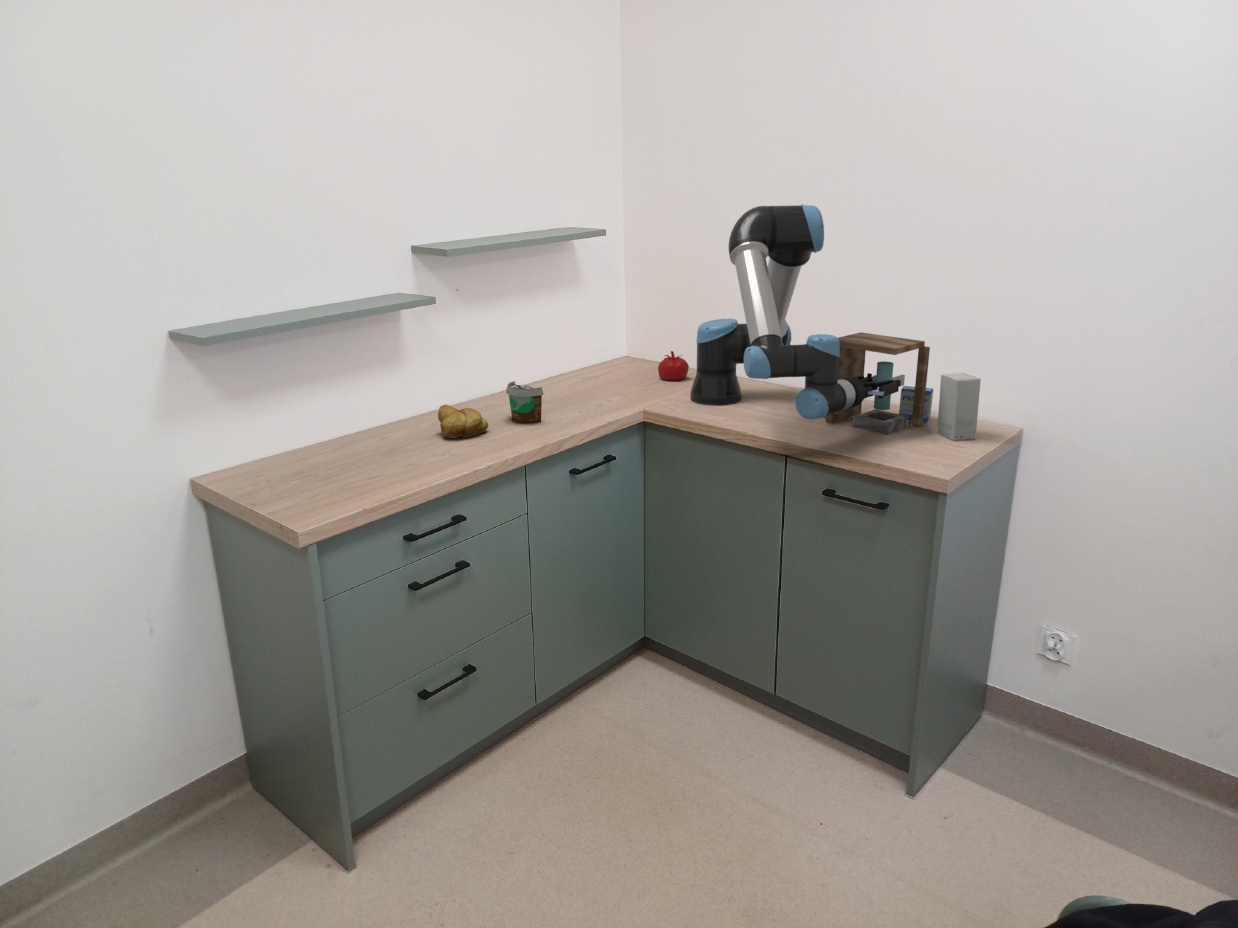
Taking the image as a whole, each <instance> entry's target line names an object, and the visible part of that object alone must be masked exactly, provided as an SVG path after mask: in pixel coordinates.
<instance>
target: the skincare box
mask: <svg viewBox="0 0 1238 928" xmlns="http://www.w3.org/2000/svg"><path fill="white" fill-rule="evenodd" d="M981 379H982V378H980V377H976V376H973V375H971V374H968V373H965V372H955V373H944V374H940V385H939V386H940V387H939V398H938V399H939V400H938V401H939V403H938V415H937V429H936V432H937V434H938V435H941V436H943V437H945V438H947V439H949V440H951V441H953V442H955V441H956V442H957V441H967V440H968V441H971V440H975V439H976V438H977V437H976V436H977V427H978V414H979V404H980V391H981V390H980V389H981Z"/></svg>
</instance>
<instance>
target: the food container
mask: <svg viewBox="0 0 1238 928" xmlns="http://www.w3.org/2000/svg"><path fill="white" fill-rule="evenodd" d="M505 389H506V390H505V394H506V395H508V399H509V405H510V413H511V420H512V422H513V423H514V424H515V423H516V424H522V425H529V424H537V423H538V424H539V423H542V405H543V404H542V402H543V399H542V397H543V395H544V390H543V387H541V386H539V387H534V388H533V387H531V386H529V385H521V384H519V385H518V384H516V380H514V381H511V382H509V383H507V386H506V388H505Z"/></svg>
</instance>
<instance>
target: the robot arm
mask: <svg viewBox="0 0 1238 928" xmlns="http://www.w3.org/2000/svg"><path fill="white" fill-rule="evenodd" d="M728 239H729V240H728V253H729V259H730V262H731V264H732V265H733V266H735V269H736V274H737V276H736V277H737V280H738V286H739V291H740V296H741V301H742V307H743V311H744V317H745V322H746V323H739V322H738V320H737V319H736V318H717V319H713V320H708V321H704V322H703V323H701V324H700V325H699V326H698V327H697V333H696V340H695V342H696V373H695V377H694V381H693V383H692V386H691V390H690V400H691V401H692V402H694V403H697V404H702V405H711V406H724V405H726V406H727V405H731V404H736V403H739V402H741V401H742V390H741V386H740V383H739V378H738V376H737V365H738V364H739V365H740V364H743V369H744V373H745V375H746V377H748V378H750V379H758V380H759V379H760V380H761V379H762V380H769V379H775V378H776V379H779V378H803V377H805V379H804V389H802V390H800V391H799V392H798V393H797V395H796V397H795V400H794V401H795V402H794V403H795V408H796V411H797V413H798V414H799V416H801V417H802V418H803V419H805V420H815V419H822V418H826V416H827V415H829V414H832V413H836V414H837V413H838V412H839V411H842V410H845V409H848V408H852V407H855V406H858V405H859V404H861V403H863V401H864V400H865V399H867V398H871V397H875V395H877V397H878V398H879V399H882V398H884V396H887V395H890V394H891V395H892V394H895V393H898V392H899V391H900V389H899V388H900V387H903V386H905V378H906V375H905V374H900V375H897V376H892V378H890V379H889V380H888V381H882V382H877V383H876V374H875V375H873V373H870V372H869V373H866V374H867V375H866V376H865V375H864V376H863V375H861V376H857V377H846V378H843V379H838V368H839V357H840V344H839V339H838V337H837V336H836V335H832V334H827V333H820V334H818V333H817V334H811V335H808V337H807V340H806V343H805V344H791V342H792V329H791V328H790V325H789V324H788V322H787V320H786V318H787V315H788V311H789V309H790V304H791V301H792V298H793V295H794V292H795V288H796V285H797V282H798V278H799V274H800V272H801V268H802V267H803V266H805V265H806V264H807V263H808V262H809V260H810V259H811V255H812V253H814V254H817V253H819V252H821V251H822V250H823V248H824V243H825V224H824V219H823V216H822V212H821V210H820V209H819V207H817V206H815V205H808V204H807V205H806V204H804V203H803V204H799V205H758V206H754V207H752V208H750V209H748V210H746V212H744V213H743V214H742V215H741V216H740V217H739V218H738V219H737V221H736V222H735V224H734V226H733V228H732V230H731V232H730V236H729V238H728ZM767 257H768V258H769V259H768V263H767Z"/></svg>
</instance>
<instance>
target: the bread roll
mask: <svg viewBox="0 0 1238 928" xmlns="http://www.w3.org/2000/svg"><path fill="white" fill-rule="evenodd" d="M437 418H438V421H439V422H440V423H439V425H440V431H441V433H442V435H443V436H444V437H445V438H447V439H457V438H459V437H463V438H469V437H473V436H475V435H480V434H483V433H484V432H486V431H487V430H488V428H489V422H488V421H487V419H485V418H484V417H482V414H481V413H480V411H478V410H477V409H475V408H471V407H464V408H461V409H458V408H455V407H454V406H451V405H449V404H443V405H440V406H439V409H438V412H437Z"/></svg>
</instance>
